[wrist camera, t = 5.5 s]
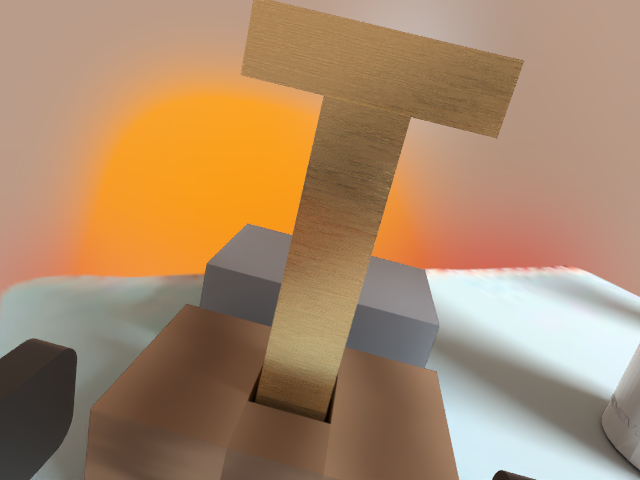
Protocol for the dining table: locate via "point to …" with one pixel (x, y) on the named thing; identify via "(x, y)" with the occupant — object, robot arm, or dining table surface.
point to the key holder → (372, 308)
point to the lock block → (261, 415)
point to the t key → (352, 167)
